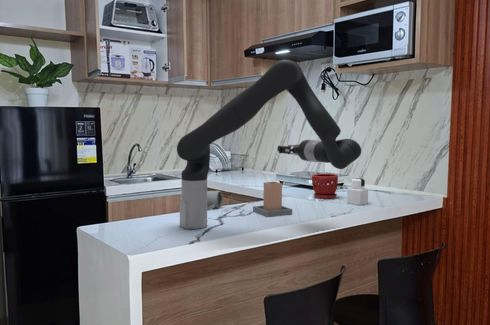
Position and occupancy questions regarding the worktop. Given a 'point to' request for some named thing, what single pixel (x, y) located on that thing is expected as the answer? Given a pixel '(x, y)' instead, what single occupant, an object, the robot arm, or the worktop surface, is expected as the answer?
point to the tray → (272, 213)
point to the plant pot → (325, 185)
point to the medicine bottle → (357, 192)
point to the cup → (272, 196)
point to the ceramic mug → (214, 199)
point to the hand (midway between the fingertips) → (287, 148)
